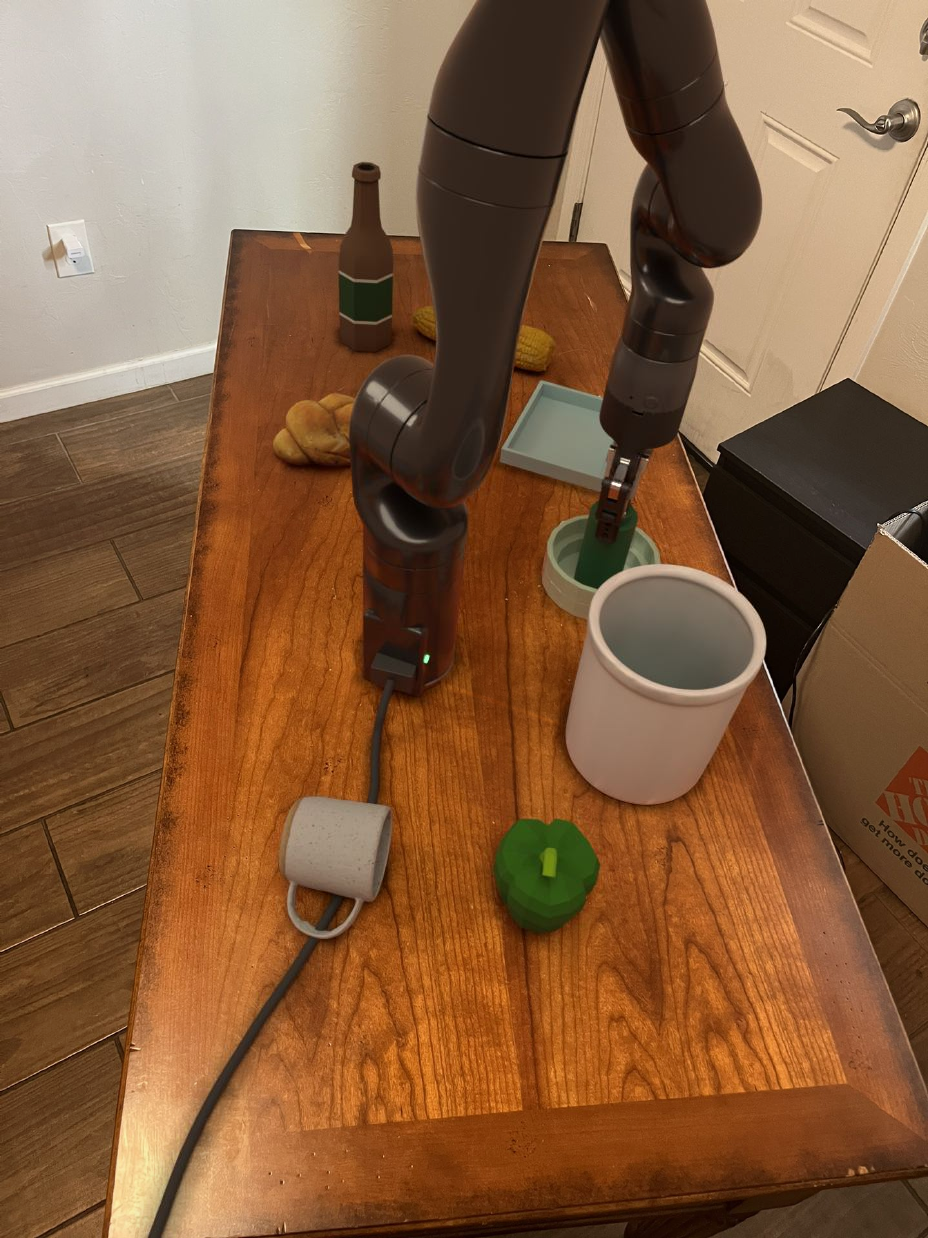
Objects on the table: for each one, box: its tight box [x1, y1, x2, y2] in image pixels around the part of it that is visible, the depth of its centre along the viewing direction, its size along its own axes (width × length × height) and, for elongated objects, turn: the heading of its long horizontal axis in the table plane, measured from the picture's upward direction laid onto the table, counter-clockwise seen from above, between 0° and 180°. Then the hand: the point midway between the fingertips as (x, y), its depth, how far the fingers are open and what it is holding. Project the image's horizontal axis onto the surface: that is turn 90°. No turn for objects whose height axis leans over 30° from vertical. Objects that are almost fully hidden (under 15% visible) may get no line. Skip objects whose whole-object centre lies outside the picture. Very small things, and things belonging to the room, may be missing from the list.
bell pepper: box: [492, 818, 601, 935], centre depth 76 cm, size 8×8×10 cm
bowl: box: [541, 514, 662, 621], centre depth 103 cm, size 12×12×5 cm
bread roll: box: [272, 392, 355, 467], centre depth 113 cm, size 13×10×8 cm
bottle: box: [574, 483, 639, 589], centre depth 99 cm, size 5×5×14 cm
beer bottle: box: [338, 161, 394, 353], centre depth 125 cm, size 8×8×24 cm
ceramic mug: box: [278, 795, 393, 940], centre depth 76 cm, size 11×8×8 cm
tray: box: [499, 379, 614, 493], centre depth 120 cm, size 16×13×3 cm
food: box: [411, 305, 557, 373], centre depth 131 cm, size 21×6×6 cm, turn 68°
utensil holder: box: [565, 563, 767, 806], centre depth 84 cm, size 15×15×18 cm
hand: (612, 521), depth 98 cm, fingers closed on bottle, 5 cm apart
